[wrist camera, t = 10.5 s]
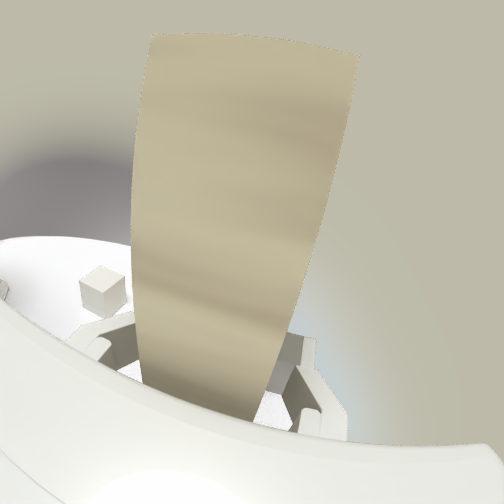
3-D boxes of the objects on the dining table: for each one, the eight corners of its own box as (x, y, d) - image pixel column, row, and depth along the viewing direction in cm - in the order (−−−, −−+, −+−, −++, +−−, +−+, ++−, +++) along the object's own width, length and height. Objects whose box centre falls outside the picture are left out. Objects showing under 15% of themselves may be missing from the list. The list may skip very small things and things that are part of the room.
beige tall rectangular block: (219, 497, 12) (360, 56, 3) (164, 478, 13) (152, 34, 4) (243, 426, 18) (337, 96, 9) (196, 410, 18) (240, 77, 9)
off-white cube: (83, 307, 45) (78, 280, 43) (103, 291, 51) (100, 265, 48) (107, 320, 44) (103, 292, 42) (126, 302, 50) (124, 275, 47)
